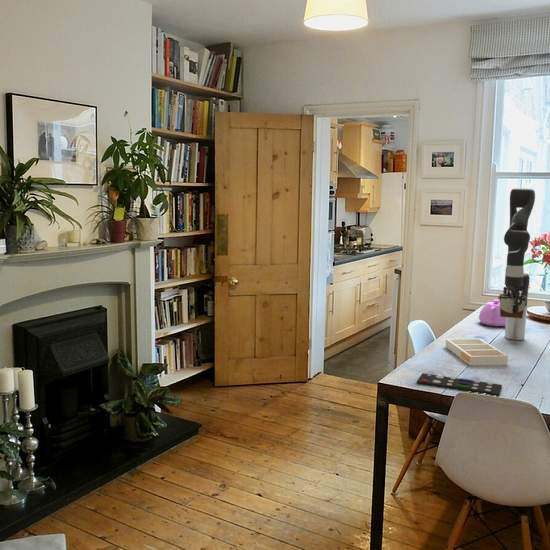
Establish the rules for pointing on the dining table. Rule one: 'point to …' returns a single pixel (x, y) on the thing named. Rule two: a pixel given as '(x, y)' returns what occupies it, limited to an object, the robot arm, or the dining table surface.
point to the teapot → (492, 314)
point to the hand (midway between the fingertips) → (511, 311)
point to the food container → (510, 307)
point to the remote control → (459, 384)
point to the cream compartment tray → (476, 352)
